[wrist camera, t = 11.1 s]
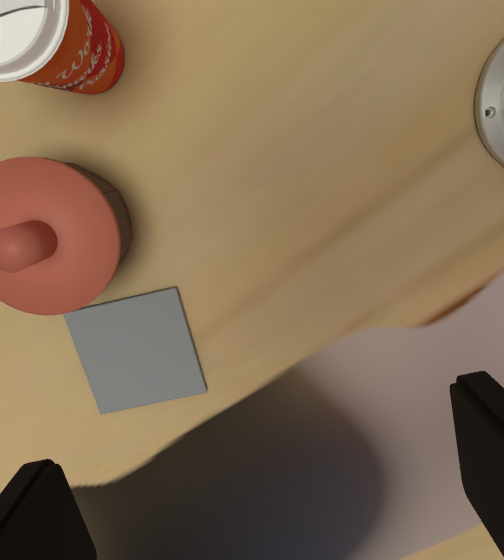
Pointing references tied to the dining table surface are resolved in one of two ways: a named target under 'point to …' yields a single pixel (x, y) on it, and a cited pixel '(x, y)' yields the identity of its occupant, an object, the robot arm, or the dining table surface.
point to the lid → (53, 237)
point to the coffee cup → (59, 45)
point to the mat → (137, 350)
